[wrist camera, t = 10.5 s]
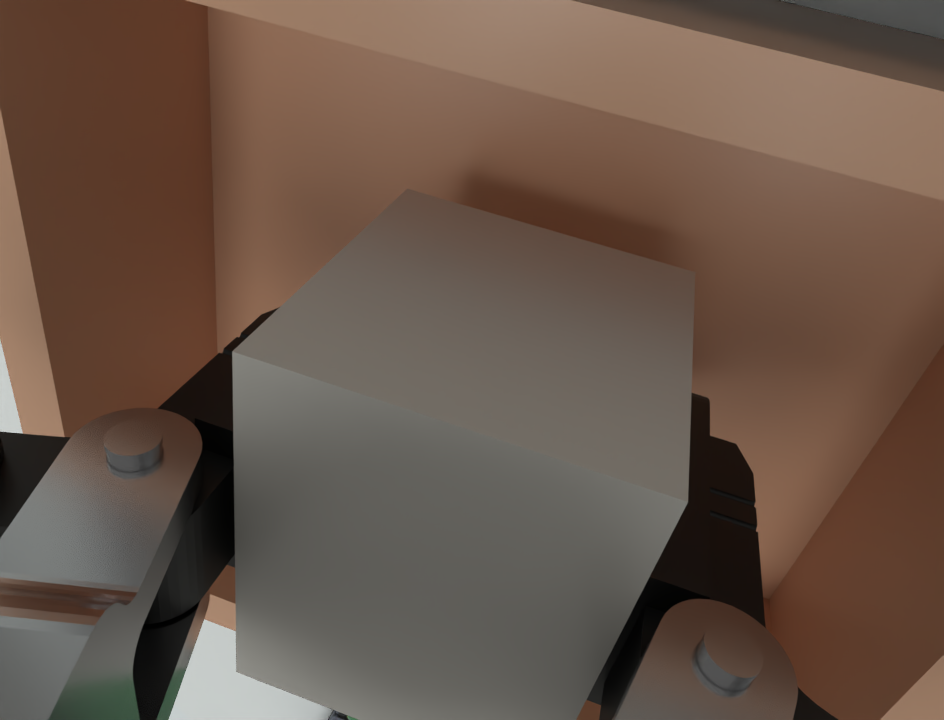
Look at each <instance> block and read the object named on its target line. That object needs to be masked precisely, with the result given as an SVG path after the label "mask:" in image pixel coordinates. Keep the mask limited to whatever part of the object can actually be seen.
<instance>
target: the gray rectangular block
mask: <svg viewBox="0 0 944 720" xmlns="http://www.w3.org/2000/svg"><path fill="white" fill-rule="evenodd" d="M694 298H695V272H693V271H690V270H686V269H683V268H679V267H676V266H672V265H669V264H665V263H662V262H659V261H655V260H652V259H648V258H645V257H641V256H638V255H634V254H631V253H627V252H624V251H621V250H617V249H614V248H610V247H607V246H603V245H600V244H596V243H593V242H590V241H586V240H583V239H579V238H576V237H572V236H569V235H565V234H562V233H558V232H555V231H552V230H548V229H545V228H541V227H538V226H534V225H531V224H527V223H524V222H520V221H517V220H514V219H510V218H507V217H503V216H500V215H496V214H493V213H489V212H486V211H483V210H479V209H476V208H472V207H469V206H465V205H462V204H458V203H455V202H451V201H448V200H445V199H441V198H438V197H434V196H431V195H427V194H424V193H420V192H417V191H413V190H410V189H406V190H405V191H404V192H403V193H402V194H401V195H400V196H399V197H398V198H397V199H396V200H395V201H393V202H392V203H391V204H390V205H389V206H388V207H387V208H386V209H385V210H384V211H383V212H382V213H381V214H379V215H378V216H377V217H376V218H375V219H374V220H373V221H372V222H371V223H370V224H369V225H368V226H367V227H366V228H364V229H363V230H362V231H361V232H360V233H359V234H358V235H357V236H356V237H355V238H354V239H353V240H352V241H350V242H349V243H348V244H347V245H346V246H345V247H344V248H343V249H342V250H341V251H340V252H339V253H338V254H337V255H335V256H334V257H333V258H332V259H331V260H330V261H329V262H328V263H327V264H326V265H325V266H324V267H323V268H321V269H320V270H319V271H318V272H317V273H316V274H315V275H314V276H313V277H312V278H311V279H310V280H309V281H307V282H306V283H305V284H304V285H303V286H302V287H301V288H300V289H299V290H298V291H297V292H296V293H295V294H294V295H292V296H291V297H290V298H289V299H288V300H287V301H286V302H285V303H284V304H283V305H282V306H281V307H280V308H278V309H277V310H276V311H275V312H274V313H273V314H272V315H271V316H270V317H269V318H268V319H267V320H266V321H264V322H263V323H262V324H261V325H260V326H259V327H258V328H257V329H256V330H255V331H254V332H253V333H252V334H251V335H249V336H248V337H247V338H246V339H245V340H244V341H243V342H242V343H241V344H240V345H239V346H238V347H237V348H235V349H234V350H233V351H232V371H233V447H234V523H235V599H236V672H238V673H241V674H243V675H246V676H248V677H251V678H253V679H256V680H258V681H261V682H264V683H266V684H269V685H271V686H274V687H276V688H279V689H282V690H284V691H287V692H289V693H292V694H294V695H297V696H299V697H302V698H305V699H307V700H310V701H312V702H315V703H317V704H320V705H322V706H325V707H328V708H330V709H333V710H335V711H338V712H340V713H343V714H345V715H348V716H351V717H353V718H356V719H358V720H576V719H577V717H578V715H579V713H580V711H581V709H582V707H583V705H584V703H585V701H586V700H587V698H588V696H589V694H590V692H591V690H592V688H593V686H594V684H595V682H596V680H597V678H598V676H599V674H600V672H601V670H602V668H603V666H604V665H605V663H606V661H607V659H608V657H609V655H610V653H611V651H612V649H613V647H614V645H615V643H616V641H617V639H618V637H619V635H620V633H621V631H622V630H623V628H624V626H625V624H626V622H627V620H628V618H629V616H630V614H631V612H632V610H633V608H634V606H635V604H636V602H637V600H638V598H639V596H640V595H641V593H642V591H643V589H644V587H645V585H646V583H647V581H648V579H649V577H650V575H651V573H652V571H653V569H654V567H655V565H656V563H657V561H658V560H659V558H660V556H661V554H662V552H663V550H664V548H665V546H666V544H667V542H668V540H669V538H670V536H671V534H672V532H673V530H674V528H675V526H676V525H677V523H678V521H679V519H680V517H681V515H682V513H683V511H684V509H685V507H686V505H687V503H688V488H689V456H690V424H691V393H692V361H693V329H694Z"/></svg>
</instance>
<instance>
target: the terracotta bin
mask: <svg viewBox="0 0 944 720" xmlns="http://www.w3.org/2000/svg"><path fill="white" fill-rule="evenodd" d="M406 189H410V190H413V191H417V192H420V193H424V194H427V195H431V196H434V197H438V198H441V199H445V200H448V201H451V202H455V203H458V204H462V205H465V206H469V207H472V208H476V209H479V210H483V211H486V212H489V213H493V214H496V215H500V216H503V217H507V218H510V219H514V220H517V221H520V222H524V223H527V224H531V225H534V226H538V227H541V228H545V229H548V230H552V231H555V232H558V233H562V234H565V235H569V236H572V237H576V238H579V239H583V240H586V241H590V242H593V243H596V244H600V245H603V246H607V247H610V248H614V249H617V250H621V251H624V252H627V253H631V254H634V255H638V256H641V257H645V258H648V259H652V260H655V261H659V262H662V263H665V264H669V265H672V266H676V267H679V268H683V269H686V270H690V271H693V272H695V298H694V329H693V361H692V393H694V394H698V395H701V396H704V397H707V398H709V400H710V436H713V437H716V438H720V439H723V440H726V441H729V442H732V443H735V444H737V446H738V448H739V449H740V451H741V453H742V455H743V456H744V458H745V460H746V461H747V463H748V465H749V467H750V468H751V470H752V472H753V475H754V488H755V500H756V502H755V505H754V507H756V513H757V528H756V532H758V538H759V551H760V563H761V576H762V589H763V601H764V614H765V625H766V629H767V630H768V631H769V632H770V633H771V634H772V635H773V636H774V637H775V638H776V640H777V641H778V642H779V644H780V645H781V646H782V647H783V649H784V651H785V652H786V654H787V656H788V657H789V659H790V662H791V664H792V666H793V668H794V671H795V675H796V678H797V685H798V687H799V688H800V689H801V691H802V692H803V693H804V694H805V695H807V696H808V697H809V698H810V699H811V700H812V701H813V702H815V703H816V704H817V705H818V706H820V707H821V708H823V709H824V710H825V711H827V712H828V713H829V714H831V715H832V716H834V717H835V718H837V719H838V720H944V39H939V38H935V37H931V36H927V35H922V34H918V33H914V32H910V31H905V30H901V29H897V28H893V27H889V26H884V25H880V24H876V23H872V22H867V21H863V20H859V19H855V18H851V17H846V16H842V15H838V14H834V13H829V12H825V11H821V10H817V9H813V8H808V7H804V6H800V5H796V4H791V3H787V2H783V1H779V0H0V339H1V343H2V347H3V352H4V356H5V360H6V364H7V368H8V372H9V377H10V381H11V385H12V389H13V393H14V398H15V402H16V406H17V410H18V414H19V418H20V423H21V427H22V431H23V434H33V435H45V436H57V437H72V436H73V435H74V433H75V432H77V431H78V430H79V429H80V428H81V427H82V426H84V425H86V424H87V423H89V422H90V421H92V420H94V419H96V418H98V417H101V416H103V415H106V414H109V413H112V412H116V411H120V410H124V409H132V408H156V409H157V408H158V407H159V406H161V405H162V404H163V403H164V402H165V401H166V400H167V399H168V398H169V397H171V396H172V395H173V394H174V393H175V392H176V391H177V390H178V389H179V388H180V387H182V386H183V385H184V384H185V383H186V382H187V381H188V380H189V379H190V378H192V377H193V376H194V375H195V374H196V373H197V372H198V371H199V370H200V369H202V368H203V367H204V366H205V365H206V364H207V363H208V362H209V361H210V360H211V359H213V358H214V357H215V356H216V355H217V354H218V353H222V352H223V349H224V348H225V347H226V346H227V345H228V344H229V343H230V342H231V341H232V340H234V339H235V338H236V337H240V335H241V332H242V331H244V330H245V329H246V328H247V327H248V326H249V325H250V324H251V323H252V322H254V321H255V320H256V319H257V318H258V317H259V316H260V315H261V314H264V313H266V312H269V311H271V310H274V309H276V308H279V307H281V306H282V305H283V304H284V303H285V302H286V301H287V300H288V299H289V298H290V297H291V296H292V295H294V294H295V293H296V292H297V291H298V290H299V289H300V288H301V287H302V286H303V285H304V284H305V283H306V282H307V281H309V280H310V279H311V278H312V277H313V276H314V275H315V274H316V273H317V272H318V271H319V270H320V269H321V268H323V267H324V266H325V265H326V264H327V263H328V262H329V261H330V260H331V259H332V258H333V257H334V256H335V255H337V254H338V253H339V252H340V251H341V250H342V249H343V248H344V247H345V246H346V245H347V244H348V243H349V242H350V241H352V240H353V239H354V238H355V237H356V236H357V235H358V234H359V233H360V232H361V231H362V230H363V229H364V228H366V227H367V226H368V225H369V224H370V223H371V222H372V221H373V220H374V219H375V218H376V217H377V216H378V215H379V214H381V213H382V212H383V211H384V210H385V209H386V208H387V207H388V206H389V205H390V204H391V203H392V202H393V201H395V200H396V199H397V198H398V197H399V196H400V195H401V194H402V193H403V192H404V191H405V190H406ZM204 619H205V620H208V621H211V622H213V623H216V624H218V625H221V626H224V627H226V628H229V629H232V630H234V631H236V599H235V568H234V567H232V566H229V565H226V567H225V568H224V569H223V571H222V572H221V574H220V575H219V576H218V578H217V579H216V580H215V582H214V583H213V584H212V586H211V587H210V601H209V605H208V609H207V612H206V615H205V618H204ZM600 709H601V705H599V704H596V703H593V702H591V701H588V700H586V701H585V703H584V705H583V707H582V709H581V711H580V713H579V715H578V717H577V719H576V720H599V716H600Z"/></svg>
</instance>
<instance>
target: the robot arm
mask: <svg viewBox="0 0 944 720" xmlns="http://www.w3.org/2000/svg"><path fill="white" fill-rule="evenodd" d="M279 308H280V307H279ZM277 309H278V308H276V309H274V310H271V311H269V312H266V313H264V314H261V315H260V316H259V317H258V318H257V319H256V320H255V321H254V322H252V323H251V324H250V325H249V326H248V327H247V328H246V329H245V330H244V331H242V332H241V335H240V337H236V338H235V339H234V340H232V341H231V342H230V343H229V344H228V345H227V346H226V347H225V348H224V349H223V352H222V353H218V354H217V355H216V356H215V357H214V358H213V359H211V360H210V361H209V362H208V363H207V364H206V365H205V366H204V367H203V368H202V369H200V370H199V371H198V372H197V373H196V374H195V375H194V376H193V377H192V378H190V379H189V380H188V381H187V382H186V383H185V384H184V385H183V386H182V387H180V388H179V389H178V390H177V391H176V392H175V393H174V394H173V395H172V396H171V397H169V398H168V399H167V400H166V401H165V402H164V403H163V404H162V405H161V406H159V407H158V408H157V409H156V408H132V409H124V410H120V411H116V412H112V413H109V414H106V415H103V416H101V417H98V418H96V419H94V420H92V421H90V422H89V423H87V424H86V425H84V426H82V427H81V428H80V429H79V430H78V431H77V432H75V433H74V435H73V436H72V437H57V436H45V435H33V434H21V433H8V432H0V720H168V719H169V716H170V713H171V711H172V708H173V705H174V702H175V699H176V697H177V694H178V691H179V688H180V685H181V682H182V680H183V677H184V674H185V671H186V668H187V666H188V663H189V660H190V657H191V654H192V651H193V649H194V646H195V643H196V640H197V637H198V635H199V632H200V629H201V626H202V623H203V621H204V618H205V615H206V612H207V609H208V605H209V601H210V587H211V586H212V584H213V583H214V582H215V580H216V579H217V578H218V576H219V575H220V574H221V572H222V571H223V569H224V568H225V567H226V565H229V566H232V567H234V568H235V523H234V447H233V371H232V351H233V350H234V349H235V348H237V347H238V346H239V345H240V344H241V343H242V342H243V341H244V340H245V339H246V338H247V337H248V336H249V335H251V334H252V333H253V332H254V331H255V330H256V329H257V328H258V327H259V326H260V325H261V324H262V323H263V322H264V321H266V320H267V319H268V318H269V317H270V316H271V315H272V314H273V313H274V312H275V311H276V310H277ZM755 502H756V500H755V488H754V475H753V472H752V470H751V468H750V467H749V465H748V463H747V461H746V460H745V458H744V456H743V455H742V453H741V451H740V449H739V448H738V446H737V444H735V443H732V442H729V441H726V440H723V439H720V438H716V437H713V436H710V400H709V398H707V397H704V396H701V395H698V394H694V393H691V424H690V456H689V488H688V503H687V505H686V507H685V509H684V511H683V513H682V515H681V517H680V519H679V521H678V523H677V525H676V526H675V528H674V530H673V532H672V534H671V536H670V538H669V540H668V542H667V544H666V546H665V548H664V550H663V552H662V554H661V556H660V558H659V560H658V561H657V563H656V565H655V567H654V569H653V571H652V573H651V575H650V577H649V579H648V581H647V583H646V585H645V587H644V589H643V591H642V593H641V595H640V596H639V598H638V600H637V602H636V604H635V606H634V608H633V610H632V612H631V614H630V616H629V618H628V620H627V622H626V624H625V626H624V628H623V630H622V631H621V633H620V635H619V637H618V639H617V641H616V643H615V645H614V647H613V649H612V651H611V653H610V655H609V657H608V659H607V661H606V663H605V665H604V666H603V668H602V670H601V672H600V674H599V676H598V678H597V680H596V682H595V684H594V686H593V688H592V690H591V692H590V694H589V696H588V698H587V700H588V701H591V702H593V703H596V704H599V705H601V709H600V716H599V720H838V719H837V718H835V717H834V716H832V715H831V714H829V713H828V712H827V711H825V710H824V709H823V708H821V707H820V706H818V705H817V704H816V703H815V702H813V701H812V700H811V699H810V698H809V697H808V696H807V695H805V694H804V693H803V692H802V691H801V689H800V688H799V687H798V685H797V678H796V675H795V671H794V668H793V666H792V664H791V662H790V659H789V657H788V656H787V654H786V652H785V651H784V649H783V647H782V646H781V645H780V644H779V642H778V641H777V640H776V638H775V637H774V636H773V635H772V634H771V633H770V632H769V631H768V630H767V629H766V625H765V614H764V601H763V589H762V576H761V563H760V551H759V538H758V532H756V528H757V513H756V507H754V505H755Z"/></svg>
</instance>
